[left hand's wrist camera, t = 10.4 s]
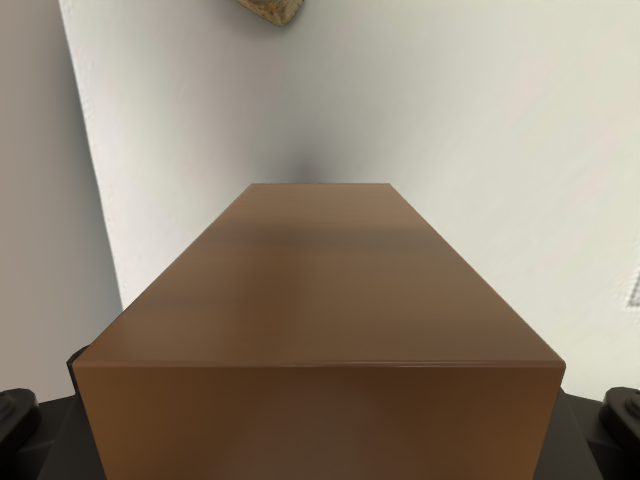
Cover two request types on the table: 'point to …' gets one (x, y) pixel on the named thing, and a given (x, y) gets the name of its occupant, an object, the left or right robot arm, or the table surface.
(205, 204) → the table surface
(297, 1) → the sculpture
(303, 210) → the box
